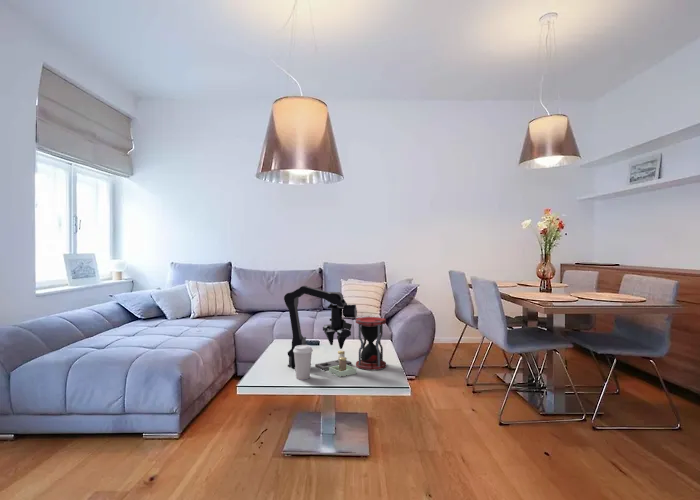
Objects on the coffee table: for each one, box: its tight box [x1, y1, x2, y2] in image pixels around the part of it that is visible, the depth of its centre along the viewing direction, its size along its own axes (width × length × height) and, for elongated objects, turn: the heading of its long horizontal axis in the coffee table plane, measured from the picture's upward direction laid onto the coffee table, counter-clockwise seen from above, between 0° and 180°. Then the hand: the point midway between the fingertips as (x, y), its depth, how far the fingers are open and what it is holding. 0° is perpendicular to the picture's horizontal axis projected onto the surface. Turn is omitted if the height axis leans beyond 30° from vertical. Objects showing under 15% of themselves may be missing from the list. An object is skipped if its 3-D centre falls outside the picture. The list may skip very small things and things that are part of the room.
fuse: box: [337, 350, 346, 363], centre depth 223 cm, size 4×4×7 cm
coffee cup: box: [293, 344, 313, 381], centre depth 201 cm, size 10×10×15 cm
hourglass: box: [355, 316, 387, 371], centre depth 220 cm, size 16×16×25 cm
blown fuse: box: [339, 357, 347, 371], centre depth 208 cm, size 4×4×7 cm
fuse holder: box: [314, 359, 353, 371], centre depth 220 cm, size 18×8×1 cm, turn 126°
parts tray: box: [328, 364, 357, 378], centre depth 208 cm, size 10×10×2 cm
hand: (336, 346), depth 214 cm, fingers open, 9 cm apart
